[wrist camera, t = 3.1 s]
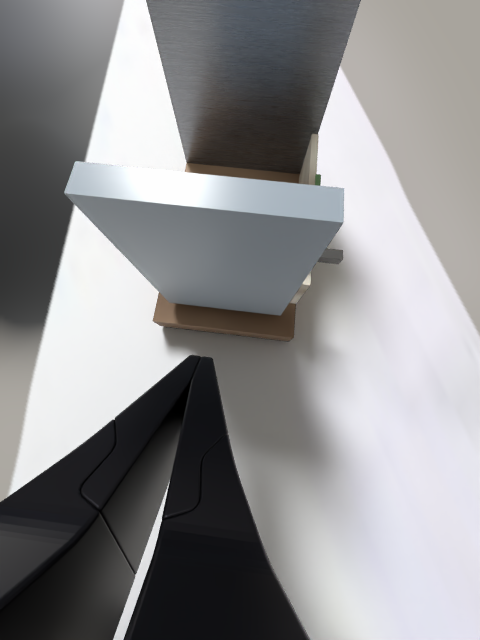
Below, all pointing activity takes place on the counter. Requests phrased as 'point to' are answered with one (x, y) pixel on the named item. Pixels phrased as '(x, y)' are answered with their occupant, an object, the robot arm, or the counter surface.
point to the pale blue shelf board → (212, 232)
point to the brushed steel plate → (250, 75)
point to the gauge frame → (233, 319)
